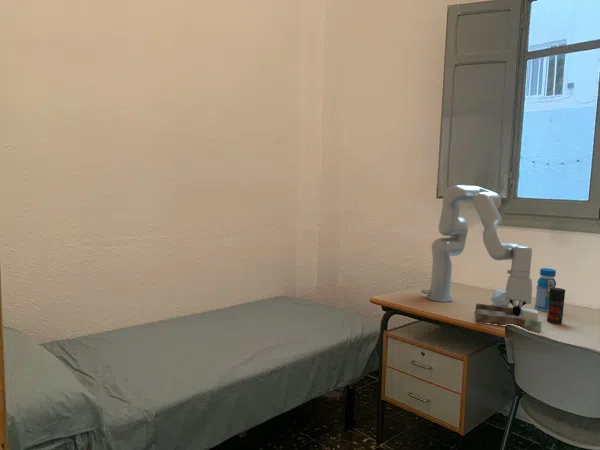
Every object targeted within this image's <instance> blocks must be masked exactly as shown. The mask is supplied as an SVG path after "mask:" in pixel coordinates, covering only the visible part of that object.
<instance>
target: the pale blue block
mask: <svg viewBox="0 0 600 450" xmlns="http://www.w3.org/2000/svg"><path fill="white" fill-rule="evenodd" d="M521 309H522V310H521V319H526V320H534V321H539V312H538V310H537V309H532V308H523V307H521Z"/></svg>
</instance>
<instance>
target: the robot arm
mask: <svg viewBox="0 0 600 450" xmlns="http://www.w3.org/2000/svg"><path fill="white" fill-rule="evenodd" d="M442 200H443V201H442V209H441V212H440V218H439V223H438V231H439V233H440V234H441V236H448V237H439V238H436V239H435V240H434V241H433V242H432V244H431V255H432V265H431V268H432V269H431V278H430V279H431V281H430V288H428V289H424V288H422V289H421V293H423V294H426V298H427V299H429V300H430V301H434V302H440V303H449V302H452V301H453V297H452V296H450V295H451V294H450V293H451V283H452V282H451V281H452V271H453V269H452V268H453V266H452V260H451V257H455V256H460V255H461V254H462V253H463V251H464V249H465V246H466V241H467V235H468V230H469V224H468V222H467V220H466V219H465V218H464V217H461V216H460V213H461V209H460V208H461V207H460V204H461V203H466V204H472V205H473V206H474V210H475V211H476V213H477V215H478V218H479V219H480V222H481V224H482V226H483V231H482V240H483V244H484V246H485V249H486V251H487V253H488V255H489V257H491V258H492V259H493V260H494V261H509V260H511V266H510V269H508V270H507V272H506V274H509V276H508V277H507V281H506V286H505V290H506V292H505V295H506V296H505V298H504V300H505V301H507V302H510V304H511V305H512V308H513V313H514V316H516V315H517V316H519V314H520V312H521V309H522V308H523V306H525V305H529V304H530V305H531V304H532V295H533V283H532V282H533V281H532V278H531V277H530V275H531V265H532V257H533V255H532V254H533V248H532V247H531V246H529V245H527V246H526V245H522V244H521V245H519V244H516V243H513V242H501V241H500V239H499V236H498V233H497V230H498V227H499V225H500V224H501V223H502V222H503V217H502V216H501V214H500V212H499V210H498V209H499V208H501V205H502V198H501V196H500V195H499V194H498V193H497V192H495V191H492V190H489V189H486V188H483V187H480V186H477V185H467V184H456V185H452V186H450V187H448V188H447V189H446V191H444V194H443V198H442ZM459 203H460V204H459ZM516 301H518V304H517V302H516Z"/></svg>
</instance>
